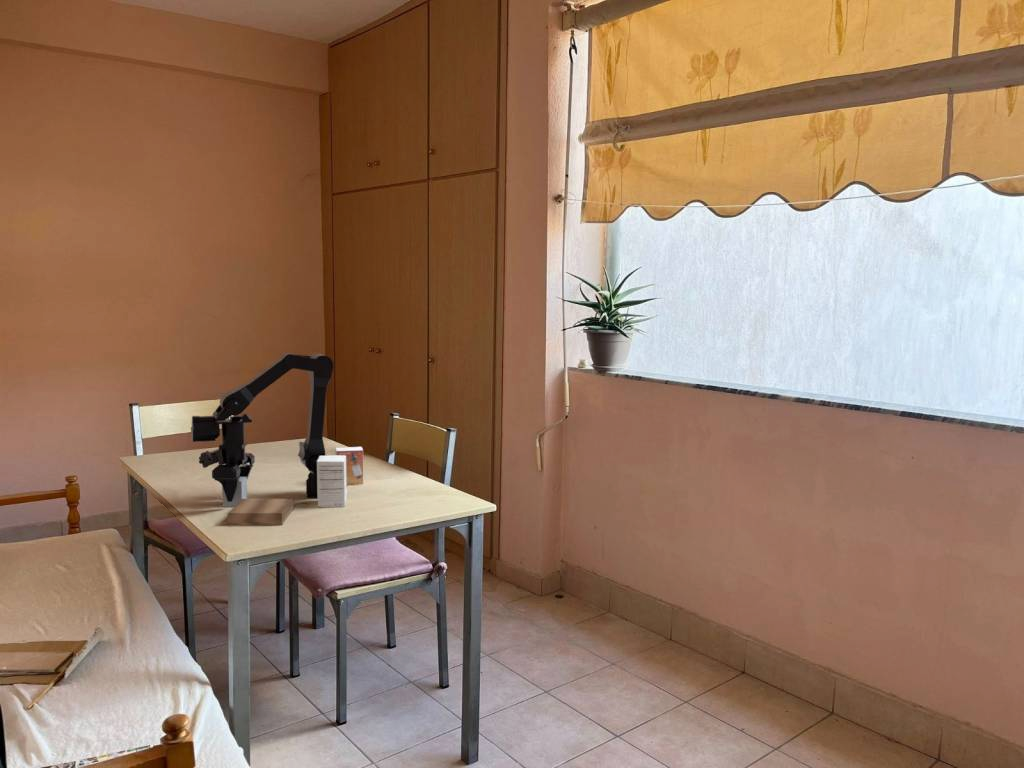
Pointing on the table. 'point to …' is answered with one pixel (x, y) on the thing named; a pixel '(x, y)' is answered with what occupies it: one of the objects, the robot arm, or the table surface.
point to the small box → (352, 464)
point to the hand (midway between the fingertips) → (235, 496)
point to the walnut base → (260, 512)
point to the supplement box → (331, 481)
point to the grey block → (237, 493)
